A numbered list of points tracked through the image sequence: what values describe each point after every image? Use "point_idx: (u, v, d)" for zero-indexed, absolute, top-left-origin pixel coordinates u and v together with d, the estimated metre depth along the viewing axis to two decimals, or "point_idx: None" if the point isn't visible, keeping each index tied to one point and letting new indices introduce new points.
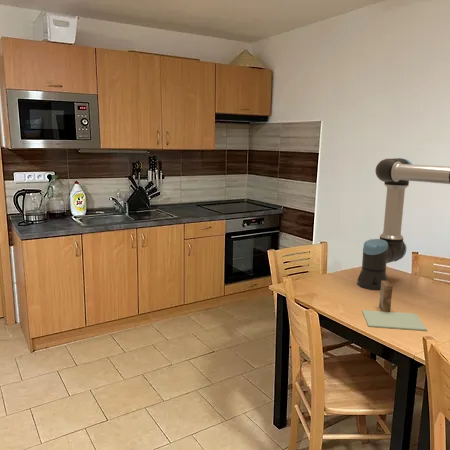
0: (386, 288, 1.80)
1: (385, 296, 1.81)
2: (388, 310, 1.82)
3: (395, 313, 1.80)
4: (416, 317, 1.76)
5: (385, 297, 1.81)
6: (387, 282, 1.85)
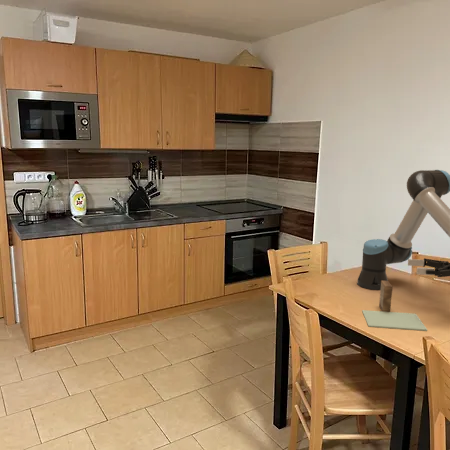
0: (386, 288, 1.80)
1: (385, 296, 1.81)
2: (388, 310, 1.82)
3: (395, 313, 1.80)
4: (416, 317, 1.76)
5: (385, 297, 1.81)
6: (387, 282, 1.85)
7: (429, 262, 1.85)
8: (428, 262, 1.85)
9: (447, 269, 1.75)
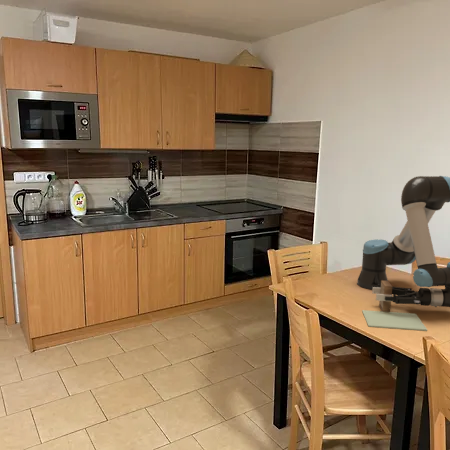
0: (386, 288, 1.80)
1: None
2: (388, 310, 1.82)
3: (395, 313, 1.80)
4: (416, 317, 1.76)
5: None
6: (387, 282, 1.85)
7: (394, 290, 1.87)
8: (393, 290, 1.88)
9: (409, 297, 1.80)
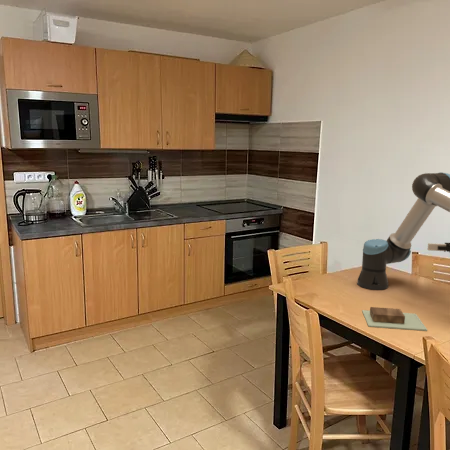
0: (375, 319, 1.71)
1: (385, 320, 1.71)
2: (401, 318, 1.69)
3: None
4: (416, 317, 1.76)
5: (386, 320, 1.71)
6: (371, 311, 1.76)
7: None
8: None
9: None
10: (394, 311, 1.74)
